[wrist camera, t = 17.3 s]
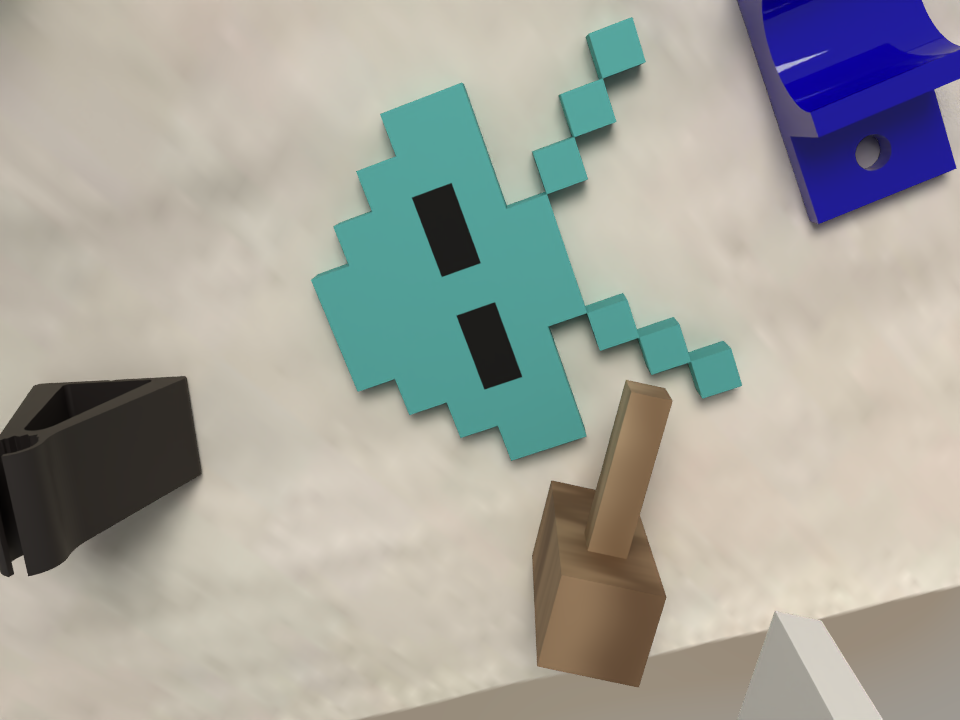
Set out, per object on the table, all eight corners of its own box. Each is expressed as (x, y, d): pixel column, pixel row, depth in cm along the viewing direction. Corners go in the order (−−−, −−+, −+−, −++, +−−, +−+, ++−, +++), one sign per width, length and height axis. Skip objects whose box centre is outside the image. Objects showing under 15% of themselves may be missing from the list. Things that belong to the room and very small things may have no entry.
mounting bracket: (695, -119, 42) (724, -158, 36) (838, -186, 41) (891, -237, 36) (807, 220, 46) (849, 234, 41) (939, 166, 45) (1001, 173, 40)
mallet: (530, 562, 52) (534, 674, 41) (586, 343, 48) (606, 405, 38) (611, 579, 52) (635, 696, 41) (672, 362, 48) (717, 429, 38)
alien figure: (626, 22, 44) (272, 158, 47) (632, 17, 42) (261, 159, 44) (732, 374, 49) (406, 480, 51) (742, 385, 47) (401, 496, 49)
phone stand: (188, 375, 50) (89, 452, 38) (203, 472, 51) (112, 574, 40) (37, 382, 50) (-106, 460, 38) (56, 478, 52) (-76, 580, 40)
